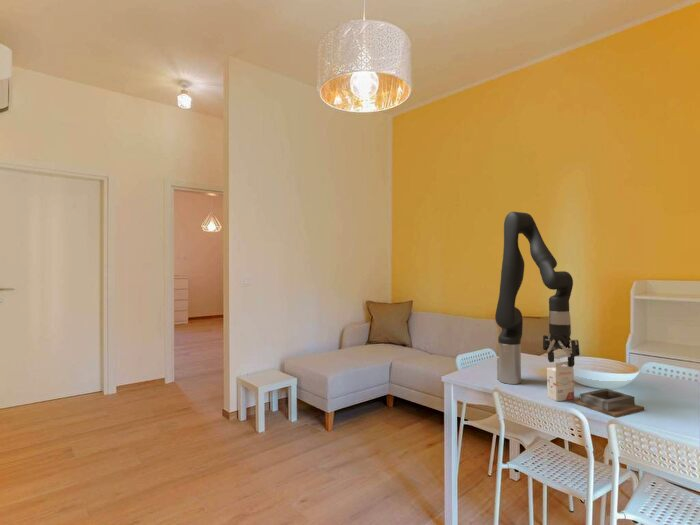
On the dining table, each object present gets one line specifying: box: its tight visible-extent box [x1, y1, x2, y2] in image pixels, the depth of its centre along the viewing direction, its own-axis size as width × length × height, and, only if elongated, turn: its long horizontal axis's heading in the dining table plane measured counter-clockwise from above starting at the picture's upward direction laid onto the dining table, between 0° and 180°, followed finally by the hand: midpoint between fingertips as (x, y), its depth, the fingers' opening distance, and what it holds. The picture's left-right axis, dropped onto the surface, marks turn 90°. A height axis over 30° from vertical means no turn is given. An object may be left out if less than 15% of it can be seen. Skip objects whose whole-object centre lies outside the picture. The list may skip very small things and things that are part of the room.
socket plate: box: [571, 388, 645, 418], centre depth 145 cm, size 16×16×4 cm
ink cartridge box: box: [546, 361, 575, 402], centre depth 154 cm, size 9×5×15 cm, turn 105°
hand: (561, 364), depth 154 cm, fingers open, 8 cm apart
